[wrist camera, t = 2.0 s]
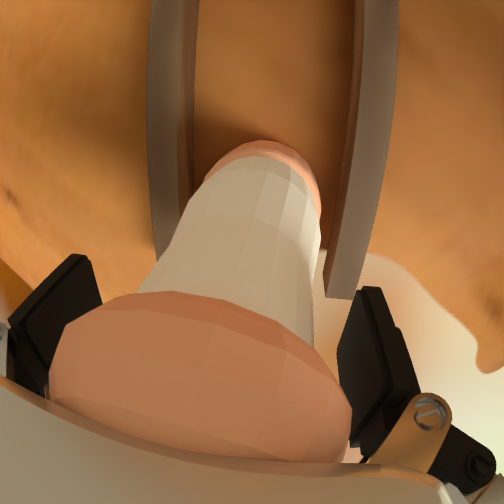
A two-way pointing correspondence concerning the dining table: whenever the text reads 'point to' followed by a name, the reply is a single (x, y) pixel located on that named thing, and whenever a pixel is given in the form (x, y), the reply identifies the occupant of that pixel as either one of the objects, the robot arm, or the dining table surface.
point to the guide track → (356, 140)
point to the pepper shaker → (219, 327)
